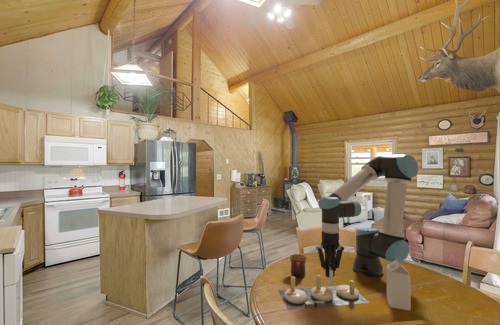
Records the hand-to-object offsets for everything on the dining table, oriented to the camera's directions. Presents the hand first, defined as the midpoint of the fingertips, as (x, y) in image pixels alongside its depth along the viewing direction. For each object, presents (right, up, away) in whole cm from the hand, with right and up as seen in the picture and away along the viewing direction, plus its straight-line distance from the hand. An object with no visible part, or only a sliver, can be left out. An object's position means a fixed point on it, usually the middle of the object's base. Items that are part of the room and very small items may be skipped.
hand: (329, 283), depth 109 cm
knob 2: (+7, -3, -2) cm, 8 cm away
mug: (-12, -5, +15) cm, 19 cm away
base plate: (-5, -4, -4) cm, 8 cm away
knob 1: (-17, -3, -6) cm, 18 cm away
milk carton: (+25, -5, -10) cm, 27 cm away
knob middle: (-5, -3, -4) cm, 7 cm away
